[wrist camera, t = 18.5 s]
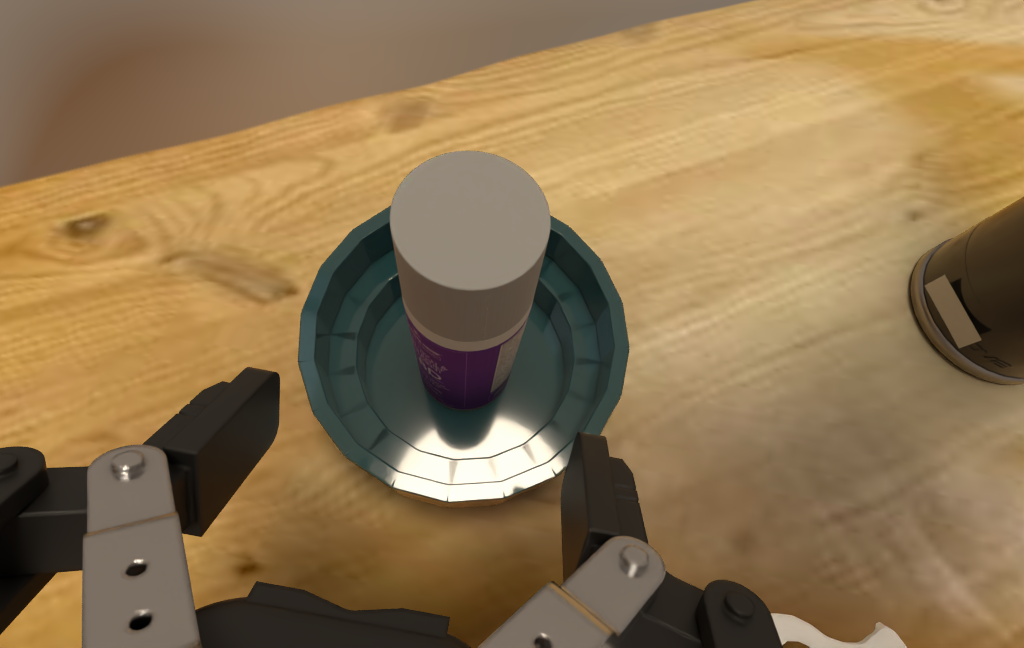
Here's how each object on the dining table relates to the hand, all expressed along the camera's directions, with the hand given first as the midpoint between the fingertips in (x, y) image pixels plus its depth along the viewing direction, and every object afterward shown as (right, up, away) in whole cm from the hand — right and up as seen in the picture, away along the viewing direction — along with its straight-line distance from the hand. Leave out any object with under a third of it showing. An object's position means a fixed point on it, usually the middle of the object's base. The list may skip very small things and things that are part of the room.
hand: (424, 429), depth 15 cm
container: (0, 0, +15) cm, 15 cm away
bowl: (0, 0, +15) cm, 15 cm away
